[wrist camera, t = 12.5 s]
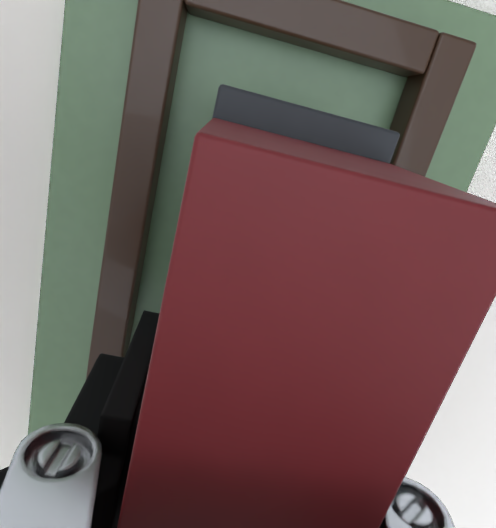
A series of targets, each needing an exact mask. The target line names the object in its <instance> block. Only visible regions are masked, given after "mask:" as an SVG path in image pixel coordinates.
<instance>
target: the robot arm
mask: <svg viewBox="0 0 496 528" xmlns="http://www.w3.org/2000/svg"><path fill="white" fill-rule="evenodd" d="M158 319H159V313H155V312H150V311H145V310H144V311H143V314H142V316H141V318H140V321H139V323H138V326H137V328H136V331H135V333H134V335H133V338H132V340H131V343H130V345H129V347H128V350H127V352H126V355H125V357H119V356H114V355H108V354H103V353H101V354H100V355H99V356H98V358H97V360H96V362H95V364H94V366H93V368H92V370H91V371H90V373H89V375H88V377H87V379H86V381H85V383H84V385H83V387H82V389H81V391H80V393H79V395H78V397H77V399H76V400H75V402H74V404H73V406H72V408H71V410H70V412H69V414H68V416H67V418H66V420H65V422H64V423H55V424H51V425H47V426H44V427H41V428H39V429H37V430H35V431H33V432H31V433H30V434H29V435H28V436H26V437H25V438H24V439H23V440H22V441H21V442H20V444H19V446H18V447H17V449H16V451H15V453H14V456H13V458H12V461H11V463H10V466H9V467H7V468H4V469H2V470H0V528H117V525H118V520H119V515H120V510H121V505H122V500H123V495H124V490H125V485H126V480H127V475H128V470H129V465H130V460H131V455H132V450H133V445H134V440H135V435H136V430H137V424H138V419H139V414H140V409H141V404H142V399H143V394H144V389H145V384H146V379H147V374H148V369H149V364H150V359H151V354H152V349H153V344H154V339H155V334H156V329H157V324H158ZM379 528H455V526H454V524H453V521H452V519H451V516H450V514H449V512H448V510H447V509H446V507H445V505H444V504H443V503H442V502H441V501H440V499H439V498H438V497H437V496H436V495H435V494H434V493H432V492H431V491H430V490H429V489H428V488H426V487H425V486H423V485H422V484H420V483H418V482H416V481H414V480H411V479H409V478H406V477H404V479H403V481H402V483H401V485H400V487H399V489H398V491H397V493H396V495H395V497H394V499H393V501H392V503H391V505H390V507H389V509H388V511H387V513H386V515H385V517H384V519H383V521H382V523H381V525H380V527H379Z"/></svg>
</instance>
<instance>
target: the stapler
mask: <svg viewBox="0 0 496 528" xmlns="http://www.w3.org/2000/svg"><path fill="white" fill-rule="evenodd" d="M399 137H400V134H399V133H398V132H396V131H393V130H389V129H385V128H382V127H378V126H374V125H371V124H367V123H363V122H360V121H356V120H352V119H349V118H345V117H341V116H338V115H334V114H330V113H327V112H323V111H320V110H316V109H312V108H309V107H305V106H301V105H298V104H294V103H290V102H287V101H283V100H279V99H276V98H272V97H268V96H265V95H261V94H257V93H254V92H250V91H246V90H243V89H239V88H235V87H232V86H228V85H224V84H221V85H220V86H219V88H218V93H217V98H216V102H215V107H214V112H213V117H212V119H211V120H210V121H209V122H208V123H207V124H206V125H205V126H204V127H203V128H201V129H200V130H199V131H198V132H197V133H196V135H195V137H194V142H193V147H192V152H191V157H190V162H189V167H188V172H187V177H186V182H185V187H184V192H183V197H182V202H181V207H180V213H179V218H178V223H177V228H176V233H175V238H174V243H173V248H172V253H171V258H170V263H169V268H168V273H167V278H166V283H165V288H164V293H163V298H162V303H161V308H160V313H159V319H158V324H157V329H156V334H155V339H154V344H153V349H152V354H151V359H150V364H149V369H148V374H147V379H146V384H145V389H144V394H143V399H142V404H141V409H140V414H139V419H138V424H137V430H136V435H135V440H134V445H133V450H132V455H131V460H130V465H129V470H128V475H127V480H126V485H125V490H124V495H123V500H122V505H121V510H120V515H119V520H118V525H117V528H379V527H380V525H381V523H382V521H383V519H384V517H385V515H386V513H387V511H388V509H389V507H390V505H391V503H392V501H393V499H394V497H395V495H396V493H397V491H398V489H399V487H400V485H401V483H402V481H403V479H404V477H405V475H406V473H407V471H408V469H409V467H410V465H411V463H412V461H413V459H414V457H415V455H416V453H417V451H418V450H419V448H420V446H421V444H422V442H423V440H424V438H425V436H426V434H427V432H428V430H429V428H430V426H431V424H432V422H433V420H434V418H435V416H436V414H437V412H438V410H439V408H440V406H441V404H442V402H443V400H444V398H445V396H446V394H447V392H448V390H449V388H450V386H451V384H452V382H453V380H454V378H455V376H456V374H457V372H458V370H459V368H460V366H461V364H462V362H463V360H464V358H465V356H466V354H467V352H468V350H469V348H470V346H471V344H472V342H473V340H474V338H475V336H476V334H477V332H478V330H479V328H480V326H481V324H482V322H483V320H484V318H485V316H486V314H487V312H488V310H489V308H490V306H491V304H492V302H493V300H494V298H495V296H496V203H493V202H491V201H488V200H485V199H483V198H480V197H477V196H475V195H472V194H469V193H467V192H464V191H461V190H459V189H456V188H453V187H451V186H448V185H445V184H443V183H440V182H437V181H435V180H432V179H429V178H427V177H424V176H421V175H419V174H416V173H413V172H411V171H408V170H405V169H403V168H400V167H397V166H395V165H392V164H390V162H391V159H392V156H393V153H394V151H395V148H396V145H397V142H398V140H399Z"/></svg>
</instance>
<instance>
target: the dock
mask: <svg viewBox="0 0 496 528" xmlns="http://www.w3.org/2000/svg"><path fill="white" fill-rule="evenodd" d="M221 84H224V85H228V86H232V87H235V88H239V89H243V90H246V91H250V92H254V93H257V94H261V95H265V96H268V97H272V98H276V99H279V100H283V101H287V102H290V103H294V104H298V105H301V106H305V107H309V108H312V109H316V110H320V111H323V112H327V113H330V114H334V115H338V116H341V117H345V118H349V119H352V120H356V121H360V122H363V123H367V124H371V125H374V126H378V127H382V128H385V129H389V130H393V131H396V132H398V133H399V134H400V137H399V140H398V142H397V145H396V148H395V151H394V153H393V156H392V159H391V162H390V164H392V165H395V166H397V167H400V168H403V169H405V170H408V171H411V172H413V173H416V174H419V175H421V176H424V177H427V178H429V179H432V180H435V181H437V182H440V183H443V184H445V185H448V186H451V187H453V188H456V189H459V190H461V191H464V192H467V190H468V187H469V185H470V183H471V180H472V178H473V176H474V173H475V171H476V169H477V167H478V164H479V162H480V160H481V157H482V155H483V153H484V150H485V148H486V146H487V143H488V141H489V139H490V136H491V134H492V132H493V129H494V127H495V125H496V16H495V15H492V14H489V13H486V12H483V11H480V10H477V9H473V8H470V7H467V6H464V5H461V4H458V3H455V2H452V1H449V0H65V11H64V22H63V34H62V45H61V57H60V69H59V80H58V92H57V103H56V115H55V127H54V138H53V150H52V161H51V173H50V185H49V196H48V208H47V219H46V231H45V243H44V254H43V266H42V277H41V289H40V301H39V312H38V324H37V335H36V347H35V359H34V370H33V382H32V393H31V405H30V417H29V428H28V435H29V434H30V433H31V432H33V431H35V430H37V429H39V428H41V427H44V426H47V425H51V424H55V423H64V422H65V420H66V418H67V416H68V414H69V412H70V410H71V408H72V406H73V404H74V402H75V400H76V399H77V397H78V395H79V393H80V391H81V389H82V387H83V385H84V383H85V381H86V379H87V377H88V375H89V373H90V371H91V370H92V368H93V366H94V364H95V362H96V360H97V358H98V356H99V355H100V354H101V353H103V354H108V355H114V356H119V357H125V355H126V352H127V350H128V347H129V345H130V343H131V340H132V338H133V335H134V333H135V331H136V328H137V326H138V323H139V321H140V318H141V316H142V314H143V311H144V310H145V311H150V312H155V313H160V308H161V303H162V298H163V293H164V288H165V283H166V278H167V273H168V268H169V263H170V258H171V253H172V248H173V243H174V238H175V233H176V228H177V223H178V218H179V213H180V207H181V202H182V197H183V192H184V187H185V182H186V177H187V172H188V167H189V162H190V157H191V152H192V147H193V142H194V137H195V135H196V133H197V132H198V131H199V130H200V129H201V128H203V127H204V126H205V125H206V124H207V123H208V122H209V121H210V120H211V119H212V117H213V112H214V107H215V102H216V98H217V93H218V88H219V86H220V85H221Z"/></svg>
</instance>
